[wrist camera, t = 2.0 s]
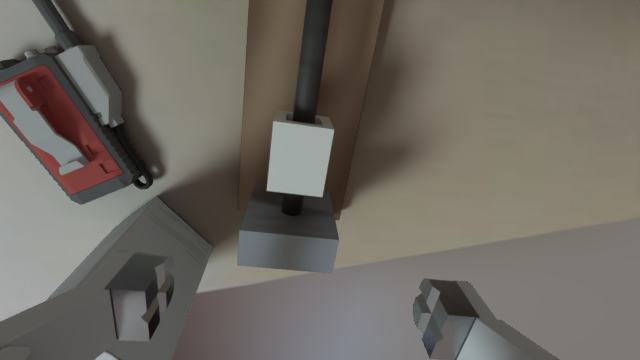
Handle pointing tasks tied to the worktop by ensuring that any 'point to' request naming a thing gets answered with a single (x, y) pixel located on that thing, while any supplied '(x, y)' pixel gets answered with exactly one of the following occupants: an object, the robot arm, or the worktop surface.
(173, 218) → the skincare box
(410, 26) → the worktop surface
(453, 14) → the worktop surface
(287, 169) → the sleeve
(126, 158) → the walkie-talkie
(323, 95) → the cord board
